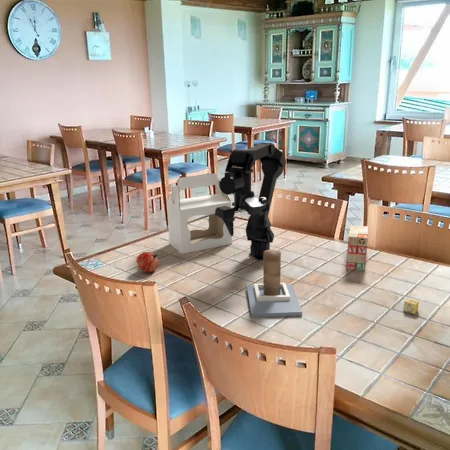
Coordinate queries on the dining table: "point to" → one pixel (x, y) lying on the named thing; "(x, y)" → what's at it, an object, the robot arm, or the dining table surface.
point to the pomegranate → (147, 262)
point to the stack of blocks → (357, 248)
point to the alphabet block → (411, 305)
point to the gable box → (195, 206)
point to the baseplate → (273, 302)
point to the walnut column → (271, 272)
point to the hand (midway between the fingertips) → (243, 233)
